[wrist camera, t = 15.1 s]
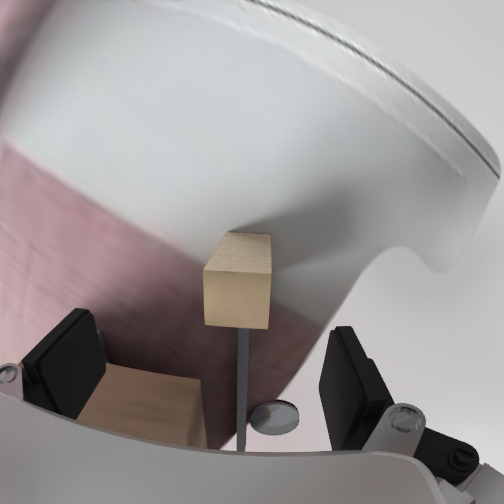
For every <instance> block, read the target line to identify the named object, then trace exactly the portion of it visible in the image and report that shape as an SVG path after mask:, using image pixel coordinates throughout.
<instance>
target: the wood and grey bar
mask: <svg viewBox="0 0 504 504" xmlns="http://www.w3.org/2000/svg"><path fill="white" fill-rule="evenodd" d="M271 276H272V266H271V234H259V233H238V232H226V234H225V235H224V237H223V239H222V240H221V242H220V243H219V245H218V246H217V248H216V250H215V251H214V253H213V254H212V256H211V258H210V259H209V261H208V263H207V264H206V266H205V267H204V269H203V290H204V318H205V325H211V326H224V327H237V328H238V355H237V451H242V452H245V446H246V424H247V400H248V376H249V351H250V328H253V329H268V321H269V306H270V291H271Z"/></svg>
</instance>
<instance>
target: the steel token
mask: <svg viewBox="0 0 504 504" xmlns="http://www.w3.org/2000/svg"><path fill="white" fill-rule="evenodd" d="M298 423H299V412H298V409H297V408H296V406H295V405H294V404H292V403H290V402H288V401H285V400H279V399H276V401H272V402H266V403H262V404H260V405H258V406H256V407H255V408H254V409H253V410H252V412H251V414H250V424H251V426H252V427H253V428H254V430H256V431H258V432H259V433H262V434H266V435H282V434H285V433H288V432H290V431H292V430H293V429H295V428H296V427H297V425H298Z"/></svg>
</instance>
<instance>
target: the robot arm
mask: <svg viewBox="0 0 504 504" xmlns="http://www.w3.org/2000/svg"><path fill="white" fill-rule="evenodd" d="M21 361H22V364H23V366H24V367H23V369H22V370H21V368H20V366H19V365H17V364H14V363H7V364H3V365H1V366H0V504H504V475H503V474H501V473H500V472H498V471H497V470H495V469H494V468H492V467H491V466H490V465H488V464H486V463H484V464H483V465H481V464H480V463H479V455H478V453H477V451H476V449H475V448H473V446H471V445H469V444H467V443H465V442H462V441H459V440H457V439H454V438H452V437H449V436H446V435H444V434H441V433H439V432H436V431H434V430H431V429H429V428H427V427H425V425H426V419H425V416H424V414H423V412H422V411H421V410H420V409H418V408H417V407H415V406H413V405H410V404H406V403H398V404H395V403H394V401H393V399H392V397H391V395H390V393H389V391H388V389H387V387H386V385H385V383H384V381H383V379H382V377H381V375H380V373H379V371H378V369H377V367H376V365H375V363H374V361H373V360H372V359H370V358H367V356H366V354H365V352H364V350H363V348H362V346H361V344H360V342H359V340H358V338H357V336H356V334H355V332H354V330H353V328H352V327H351V326H337V327H336V328H335V330H331V332H330V335H329V340H328V345H327V350H326V355H325V360H324V364H323V368H322V373H321V377H320V382H319V394H320V398H321V402H322V407H323V410H324V415H325V420H326V424H327V429H328V433H329V438H330V442H331V447H332V451H319V452H292V453H291V452H287V453H286V452H285V453H283V452H281V453H280V452H278V453H277V452H274V453H273V452H270V453H269V452H242V451H226V450H215V449H205V448H197V447H189V446H182V445H176V444H169V443H164V442H158V441H153V440H148V439H143V438H138V437H134V436H130V435H126V434H121V433H118V432H114V431H110V430H106V429H103V428H99V427H96V426H92V425H89V424H86V423H83V422H80V421H77V418H78V416H79V415H80V413H81V411H82V410H83V408H84V406H85V405H86V403H87V401H88V400H89V398H90V397H91V395H92V393H93V392H94V390H95V388H96V387H97V385H98V384H99V382H100V381H101V379H102V377H103V376H104V374H105V372H106V363H105V360H104V356H103V353H102V349H101V345H100V341H99V337H98V333H97V329H96V325H95V320H94V316H93V315H92V314H91V313H90V311H89V310H87V309H81V308H75V309H74V310H73V311H72V312H71V313H70V314H68V315H67V316H66V317H65V318H64V319H63V320H62V321H61V322H60V323H59V324H58V325H57V326H56V327H55V328H54V329H53V330H52V331H51V332H49V333H48V334H47V335H46V336H45V337H44V338H43V339H42V340H41V341H40V342H39V343H38V344H37V345H36V346H35V347H34V348H33V349H32V350H31V351H30V352H29V353H28V354H27V355H26V356H25V357H24V358H23V359H22V360H21Z"/></svg>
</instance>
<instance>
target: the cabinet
mask: <svg viewBox="0 0 504 504" xmlns="http://www.w3.org/2000/svg"><path fill="white" fill-rule="evenodd" d="M97 333H98V337H99V341H100V345H101V349H102V353H103V356H104V360H105V363H106V372H105V374H104V376H103V377H102V379H101V381H100V382H99V384H98V385H97V387H96V388H95V390H94V392H93V393H92V395H91V397H90V398H89V400H88V401H87V403H86V405H85V406H84V408H83V410H82V411H81V413H80V415H79V416H78V418H77V421H80V422H83V423H86V424H89V425H92V426H96V427H99V428H103V429H106V430H110V431H114V432H118V433H121V434H126V435H130V436H134V437H138V438H143V439H148V440H153V441H158V442H164V443H169V444H176V445H182V446H189V447H197V448H205V449H208V446H207V438H206V430H205V421H204V412H203V402H202V392H201V381H200V379H193V378H185V377H178V376H172V375H165V374H159V373H153V372H148V371H142V370H137V369H132V368H127V367H122V366H118V365H113V364H109V360H108V356H107V353H106V349H105V345H104V341H103V337H102V332H101V330H97ZM18 365H19V366H20V368H21V370H22V369H23V367H24V366H23V364H22V361H21V362H20V363H19V364H18Z"/></svg>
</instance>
